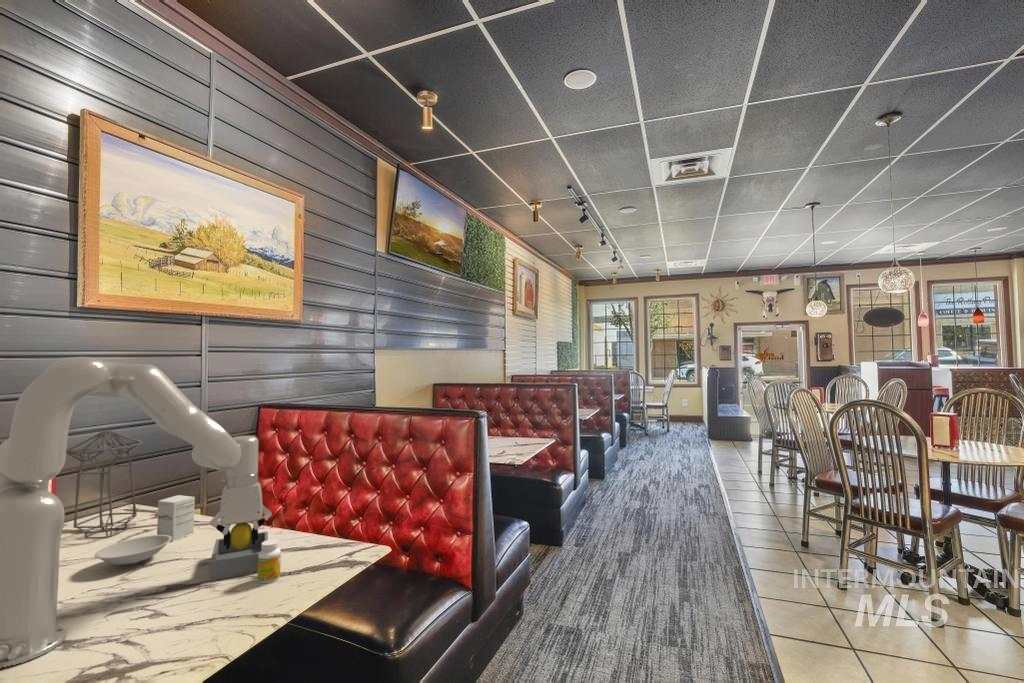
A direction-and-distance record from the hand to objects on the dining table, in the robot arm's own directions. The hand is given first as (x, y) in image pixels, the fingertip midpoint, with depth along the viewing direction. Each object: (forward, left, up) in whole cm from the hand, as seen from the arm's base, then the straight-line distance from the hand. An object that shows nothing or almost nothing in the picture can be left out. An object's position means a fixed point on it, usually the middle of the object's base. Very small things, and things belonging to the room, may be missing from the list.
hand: (241, 544), depth 128 cm
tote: (+4, 0, -7) cm, 8 cm away
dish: (+19, +27, -7) cm, 34 cm away
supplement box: (+38, +20, -7) cm, 43 cm away
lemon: (0, 0, -2) cm, 2 cm away
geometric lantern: (+53, +42, -7) cm, 68 cm away
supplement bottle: (-11, -7, -7) cm, 15 cm away
